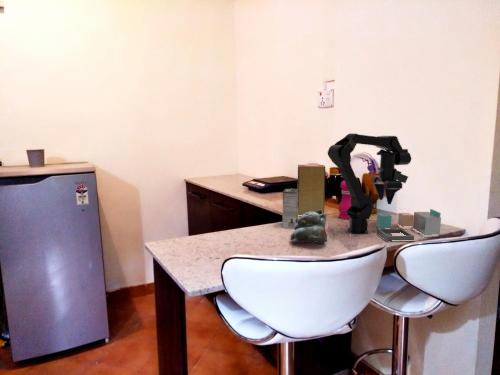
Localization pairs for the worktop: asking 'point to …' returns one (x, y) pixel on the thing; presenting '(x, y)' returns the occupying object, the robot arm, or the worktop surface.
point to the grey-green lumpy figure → (310, 228)
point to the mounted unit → (427, 222)
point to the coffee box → (290, 207)
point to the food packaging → (311, 188)
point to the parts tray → (388, 236)
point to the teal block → (383, 221)
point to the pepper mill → (344, 201)
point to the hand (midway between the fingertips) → (385, 201)
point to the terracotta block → (405, 219)
